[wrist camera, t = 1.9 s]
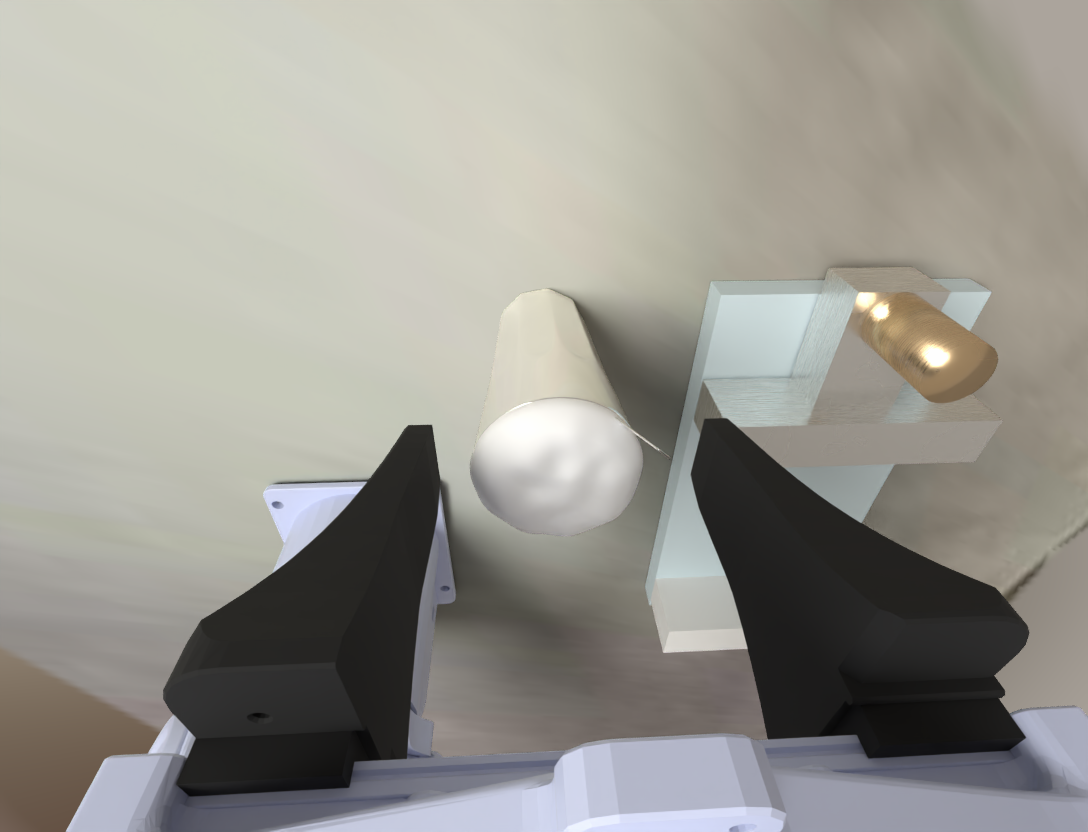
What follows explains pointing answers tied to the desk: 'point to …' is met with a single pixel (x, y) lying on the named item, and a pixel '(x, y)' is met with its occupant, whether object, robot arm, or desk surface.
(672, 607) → the pale blue stepped plate
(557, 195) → the desk surface
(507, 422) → the milkshake
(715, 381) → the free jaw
